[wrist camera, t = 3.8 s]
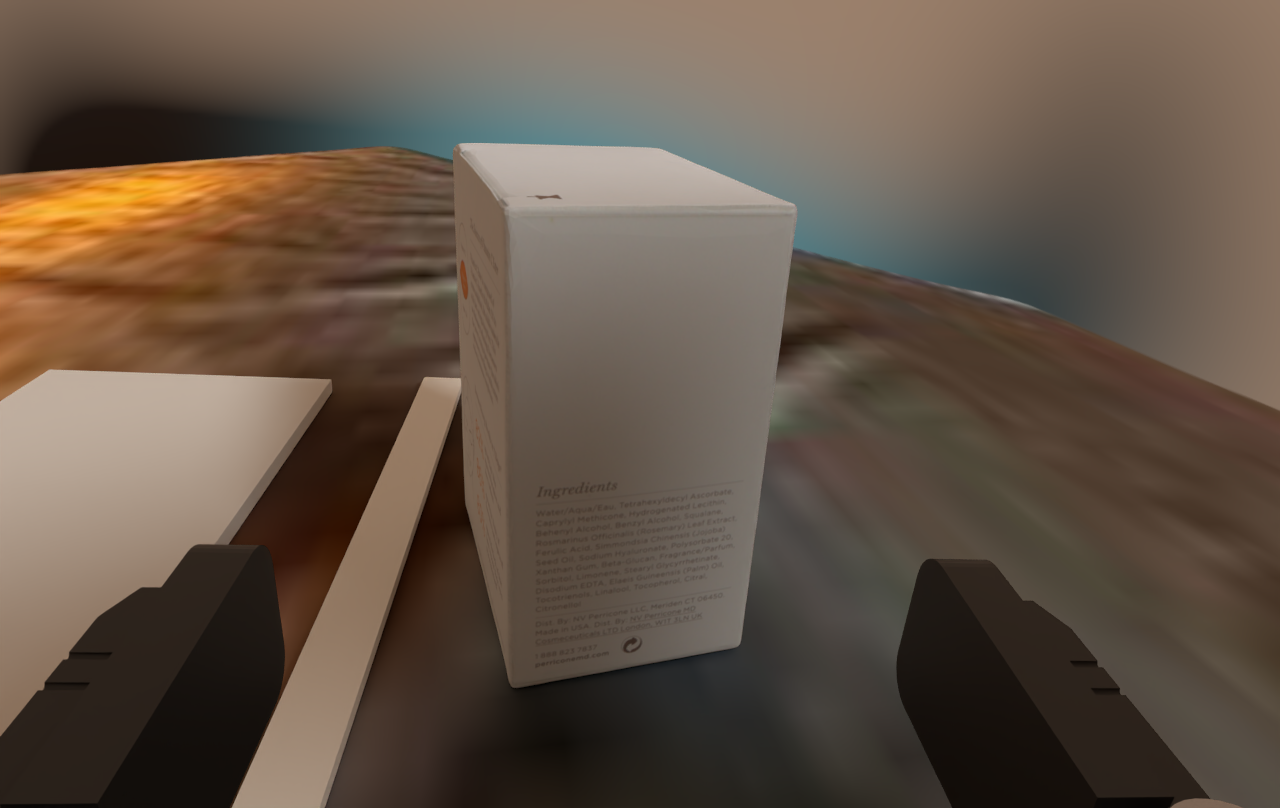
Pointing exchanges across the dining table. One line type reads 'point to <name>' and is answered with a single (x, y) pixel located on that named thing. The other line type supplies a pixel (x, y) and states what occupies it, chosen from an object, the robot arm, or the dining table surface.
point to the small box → (614, 397)
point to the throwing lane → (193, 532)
